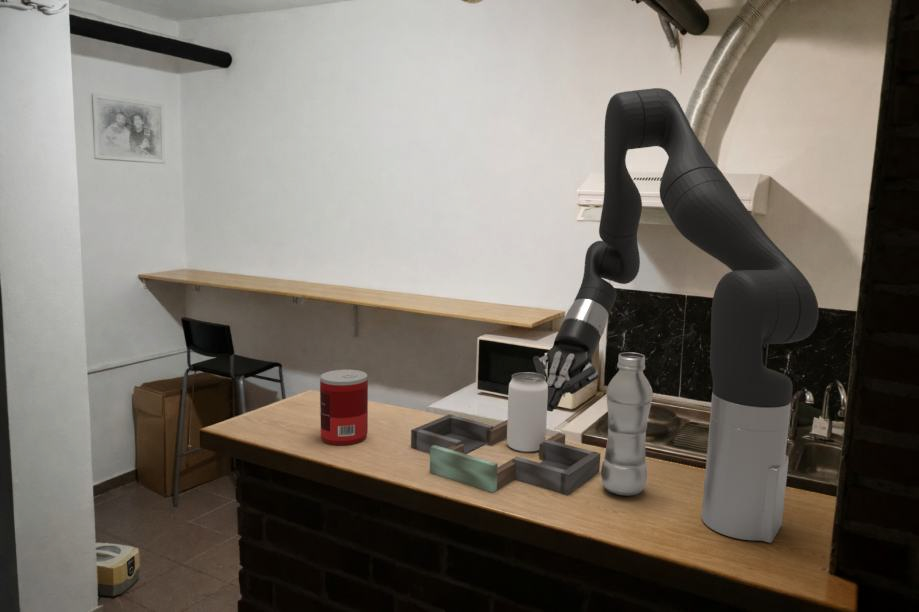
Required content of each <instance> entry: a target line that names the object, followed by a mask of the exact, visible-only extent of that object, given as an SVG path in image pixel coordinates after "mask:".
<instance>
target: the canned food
mask: <svg viewBox="0 0 919 612" xmlns="http://www.w3.org/2000/svg"><path fill="white" fill-rule="evenodd" d="M319 377H320V379H319V395H320V396H319V399H320V401H319V403H320V405H319V406H320V407H319V410H320V411H319V412H320V413H319V414H320V438H321V439H322V441H323V442H324V443H326V444H328V445H331V446H332V445H333V446H349V445H350V446H351V445H355V444H359V443H362V442H364V440H366V438H367V435H368V432H369V430H368V427H369V426H368V424H369V422H368V420H369V419H368V417H369V416H368V415H369V414H368V412H369V410H368V409H369V408H368V407H369V400H368V399H369V383H368V382H369V381H368V380H369V378H368V374H367V372H364V371H362V370H358V369H357V370H356V369H335V370H330V371H329V370H328V371H327V372H323V373H322V374H321V375H320V376H319Z"/></svg>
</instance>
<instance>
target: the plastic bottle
mask: <svg viewBox="0 0 919 612" xmlns="http://www.w3.org/2000/svg"><path fill="white" fill-rule="evenodd" d="M616 365H617V367H616V368H617V369H618V372H616V374H615V375H614V376H612V379H611V380H610V382H608V385H607V387H606V405H607V407H606V408H607V438H606V439H607V440H606V447H605V454H604V457H603V460H602V464H601V465H602V466H601V469H600V475H601V483H602V484H603V486H604V488H605V490H607V491H608V492H609V493H613V494H615V495H619V496H635V495H636V496H637V495H639V494H640V493H641V492H642V491H643V490H644V489H645V487H646V484H647V481H648V466H647V465H648V464H647V461H646V437H647V436H646V435H647V432H646V431H647V428H648V420H649V417H650V416H649V415H650V410H651V405H652V401H653V395H654V393H653V388H652V386H651V384H650V381H649V380H648V378H647V377H646V376H645V373H644V370H645V371H646V356H645V355H644V354H642V353H639V352H630V351H629V352H621V353H619V354H618V362H617V364H616Z"/></svg>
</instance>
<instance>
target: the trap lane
mask: <svg viewBox="0 0 919 612" xmlns="http://www.w3.org/2000/svg"><path fill="white" fill-rule="evenodd" d="M504 440H507V419H506V420H504V421H501V422H500V423H498V424H496V425H492V424H488V423H484V422H480V421H476V420H473V419H470V418H464V417H461V416H457V415H454V414H450V413H449V414H447V415H444V416H442V417H439V418H437V419H434V420H432V421H430V422H427V423H424V424H422V425H420V426H417V427H415V428H413V429H412V428H411V431H410V448H412V449H415V450H420V451H423V452H425V453H427V454H429V473H431V474H434V475H436V476H437V475H438V476H441V477H443V478H446V479H450V480H453V481H456V482H460V483H462V484H466V485H469V486H472V487H475V488H477V489H481V490H483V491H486V492H490V493H494V492H496V491H499V489H502V488H503V487H504V486H506V485H508V484H509V483H511V482H512V481H514V480H517V481H520V482H525V483H527V484H530V485H534V486H537V487H540V488H544V489H547V490H550V491H554V492H557V493H559V494H564V495H567V496H568V495H570V494H572V492H574V491H576V490H577V489H578V488H579V487H581V486H582V485H584V484H585V483H587V482H588V481H589V480H590V478H591V479H592V478H594V477H595V476H596V475H597V474H599V473H600V472H601V469H600V468H601V454H602V453H600V452H597V451H594V450H590V449H589V450H588V449H585V448H582V447H577V446H574V445H569V444H566V434H565V433H561V432H558V433H556V434H554V435H552V436H551V437H550V438H547V439H546V440H545V441H543V442H542V443H540V447H539V451H538V452H539V453H538V459H539V460H542V461H541V462H537V461H535V460H530V459H527V458H523V457H520V456H517V455H516V456H515V457H513V458H512V459H509V460H508V461H506V462H505V463H503V464H501V465H498V463H497V462H494V461H490V460H488V459H487V460H486V459H484V458H483V459H482V458H480V457H476V456H473V455H470V454H468V453H471V452H473V451H475V450H477V449H479V448H481V447H483V446H484V445H489V446H494V445H496V444H498V443H500V442H501V441H504ZM598 472H599V473H598ZM595 474H596V475H595ZM594 475H595V476H594Z"/></svg>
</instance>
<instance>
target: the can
mask: <svg viewBox="0 0 919 612" xmlns="http://www.w3.org/2000/svg"><path fill="white" fill-rule="evenodd" d="M545 379H546V377H545V376H544V375H542V374H538V373H537V372H531V371H530V372H529V371H528V372H527V371H526V372H525V371H524V372H516V373H513V374H512V375H511V380H510V382H509V383H508V392H507V393H508V395H507V399H508V400H507V419H506V420H507V438H506V445H507V446H508V447H509V448H510V449H511V450H514V451H516V452H519V453H536V452H537V453H538V452H539V447H540V443H542V442H543V441H545V440H547V439H546V438H547V419H548V418H547V417H548V411H547V400H548V386H547V383H546V381H545Z"/></svg>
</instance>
